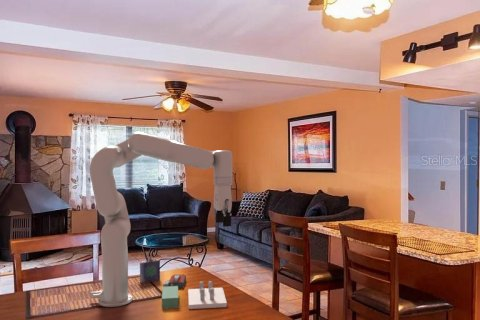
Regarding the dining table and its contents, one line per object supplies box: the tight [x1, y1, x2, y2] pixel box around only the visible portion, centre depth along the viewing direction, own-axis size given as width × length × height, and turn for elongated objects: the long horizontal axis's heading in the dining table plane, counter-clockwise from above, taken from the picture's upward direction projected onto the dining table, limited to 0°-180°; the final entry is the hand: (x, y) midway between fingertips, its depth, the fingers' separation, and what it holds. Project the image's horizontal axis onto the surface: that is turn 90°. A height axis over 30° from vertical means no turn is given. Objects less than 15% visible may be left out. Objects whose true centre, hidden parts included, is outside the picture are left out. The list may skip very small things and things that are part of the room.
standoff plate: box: [187, 280, 228, 310], centre depth 161 cm, size 14×18×6 cm
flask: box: [139, 256, 161, 284], centre depth 186 cm, size 9×3×11 cm, turn 122°
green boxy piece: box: [161, 286, 179, 310], centre depth 160 cm, size 6×14×4 cm, turn 9°
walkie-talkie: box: [161, 273, 187, 292], centre depth 178 cm, size 9×4×20 cm
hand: (223, 224), depth 165 cm, fingers open, 9 cm apart
